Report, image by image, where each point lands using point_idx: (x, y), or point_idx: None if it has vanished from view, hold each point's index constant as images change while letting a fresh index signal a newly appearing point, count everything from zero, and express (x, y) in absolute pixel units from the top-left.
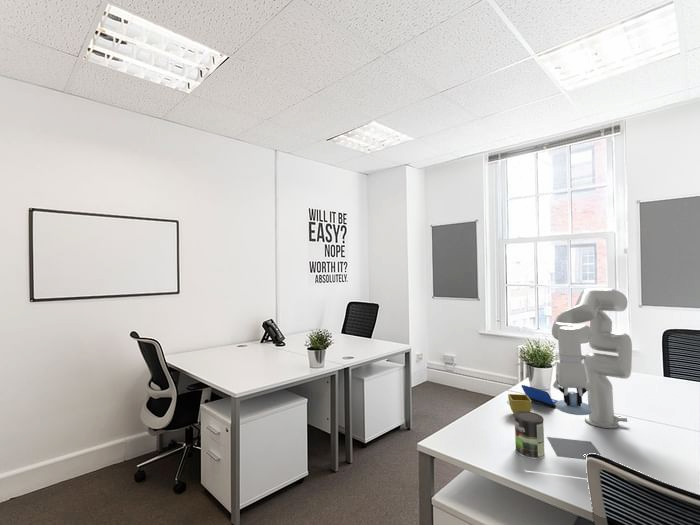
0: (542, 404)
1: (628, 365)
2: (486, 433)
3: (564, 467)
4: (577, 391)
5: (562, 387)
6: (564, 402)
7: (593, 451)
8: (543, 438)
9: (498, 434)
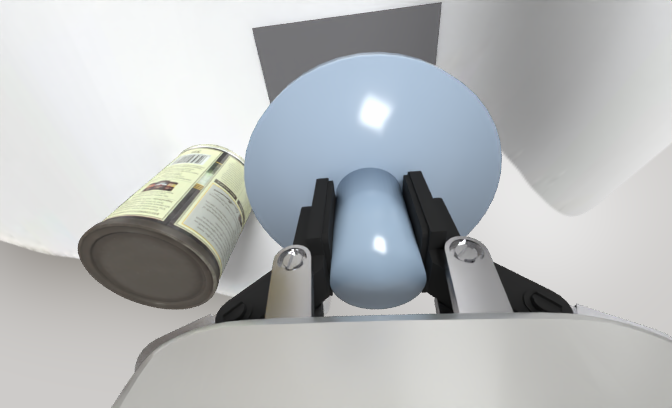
0: None
1: None
2: (24, 81)
3: None
4: (448, 272)
5: (267, 308)
6: (311, 145)
7: None
8: (241, 229)
9: (67, 72)
